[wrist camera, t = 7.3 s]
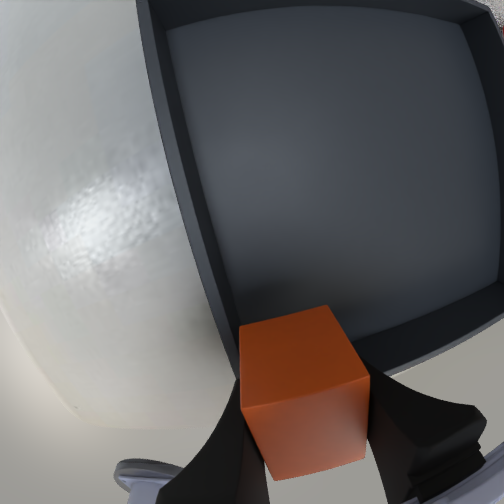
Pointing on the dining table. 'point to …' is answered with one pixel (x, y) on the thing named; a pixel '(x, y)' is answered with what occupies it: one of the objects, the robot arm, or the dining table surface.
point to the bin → (337, 163)
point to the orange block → (303, 393)
